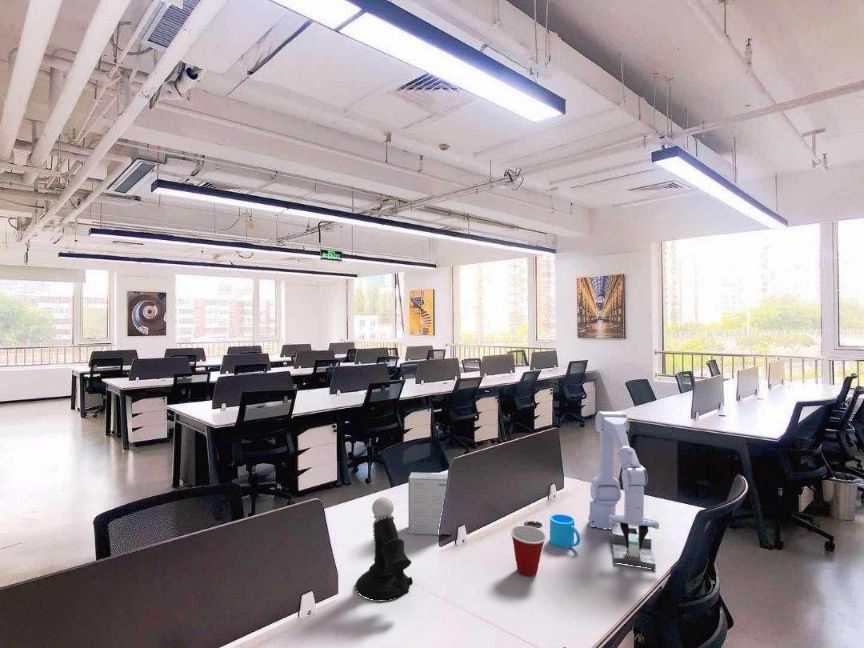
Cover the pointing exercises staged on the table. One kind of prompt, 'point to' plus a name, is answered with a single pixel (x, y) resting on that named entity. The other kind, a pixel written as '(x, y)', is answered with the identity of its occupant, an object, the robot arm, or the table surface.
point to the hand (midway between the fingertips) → (633, 547)
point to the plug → (633, 547)
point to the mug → (563, 531)
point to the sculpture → (385, 558)
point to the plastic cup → (527, 548)
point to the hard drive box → (426, 502)
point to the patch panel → (621, 551)
